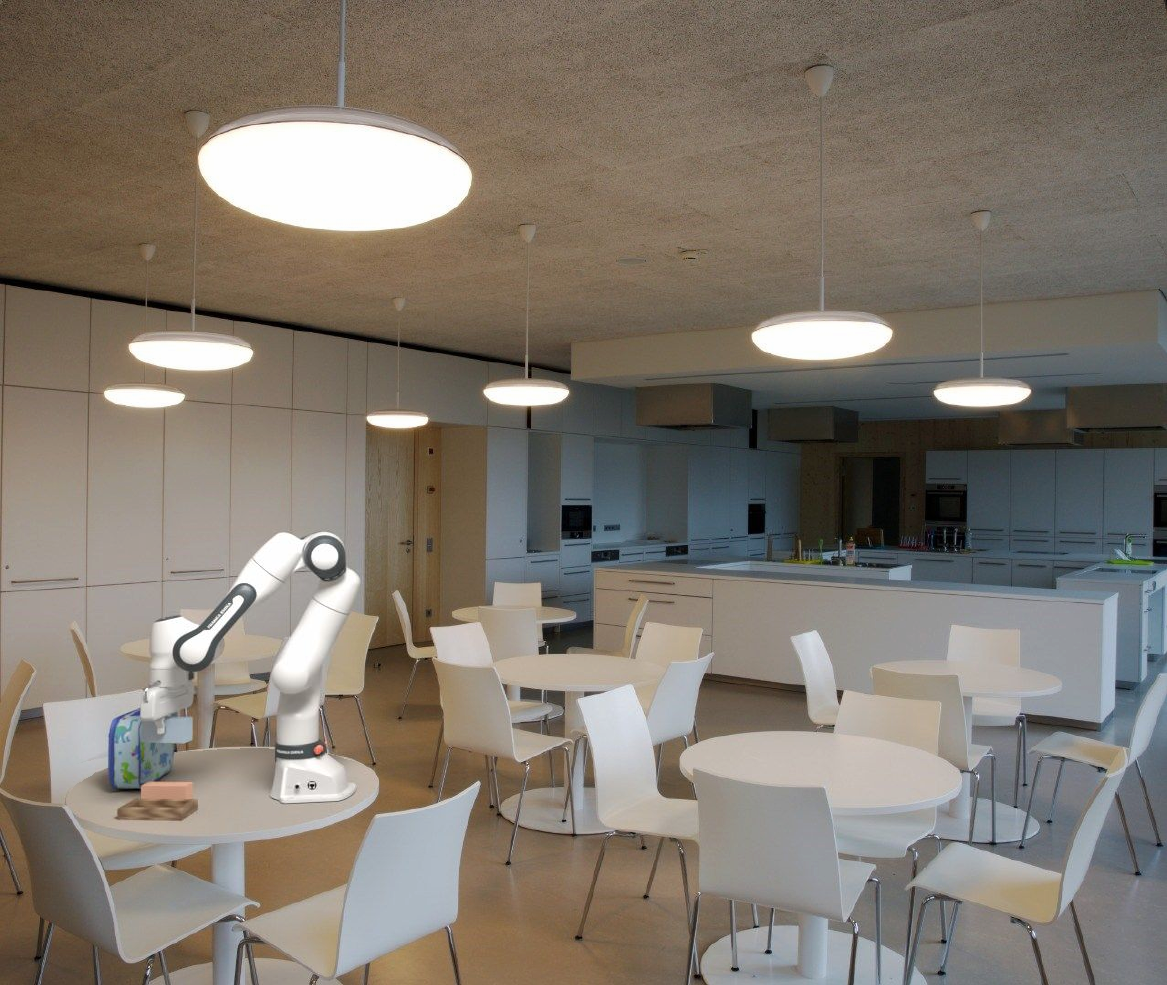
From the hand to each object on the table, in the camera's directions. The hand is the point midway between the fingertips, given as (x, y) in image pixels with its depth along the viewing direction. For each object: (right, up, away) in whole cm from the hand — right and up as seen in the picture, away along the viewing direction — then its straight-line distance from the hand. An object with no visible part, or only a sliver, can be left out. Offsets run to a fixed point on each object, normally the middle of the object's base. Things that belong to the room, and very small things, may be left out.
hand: (167, 730), depth 244 cm
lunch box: (-17, -20, +21) cm, 34 cm away
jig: (+2, -19, -9) cm, 21 cm away
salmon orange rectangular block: (-1, -19, +1) cm, 20 cm away
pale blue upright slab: (0, -3, 0) cm, 3 cm away
